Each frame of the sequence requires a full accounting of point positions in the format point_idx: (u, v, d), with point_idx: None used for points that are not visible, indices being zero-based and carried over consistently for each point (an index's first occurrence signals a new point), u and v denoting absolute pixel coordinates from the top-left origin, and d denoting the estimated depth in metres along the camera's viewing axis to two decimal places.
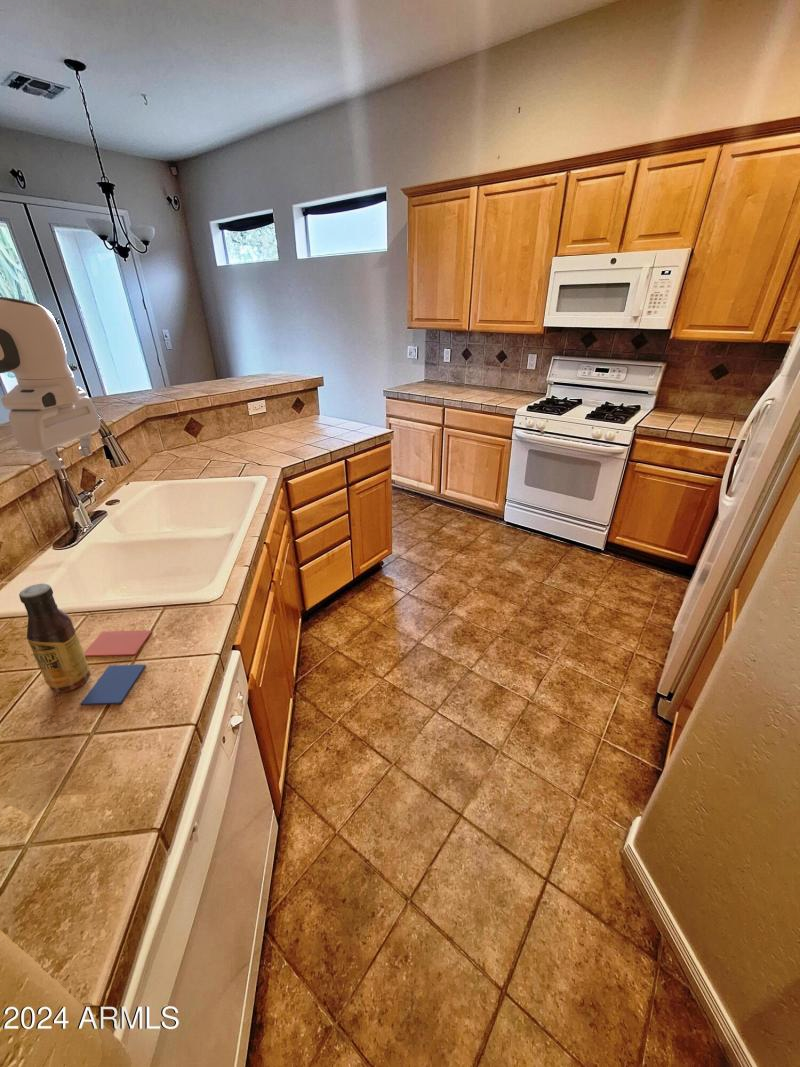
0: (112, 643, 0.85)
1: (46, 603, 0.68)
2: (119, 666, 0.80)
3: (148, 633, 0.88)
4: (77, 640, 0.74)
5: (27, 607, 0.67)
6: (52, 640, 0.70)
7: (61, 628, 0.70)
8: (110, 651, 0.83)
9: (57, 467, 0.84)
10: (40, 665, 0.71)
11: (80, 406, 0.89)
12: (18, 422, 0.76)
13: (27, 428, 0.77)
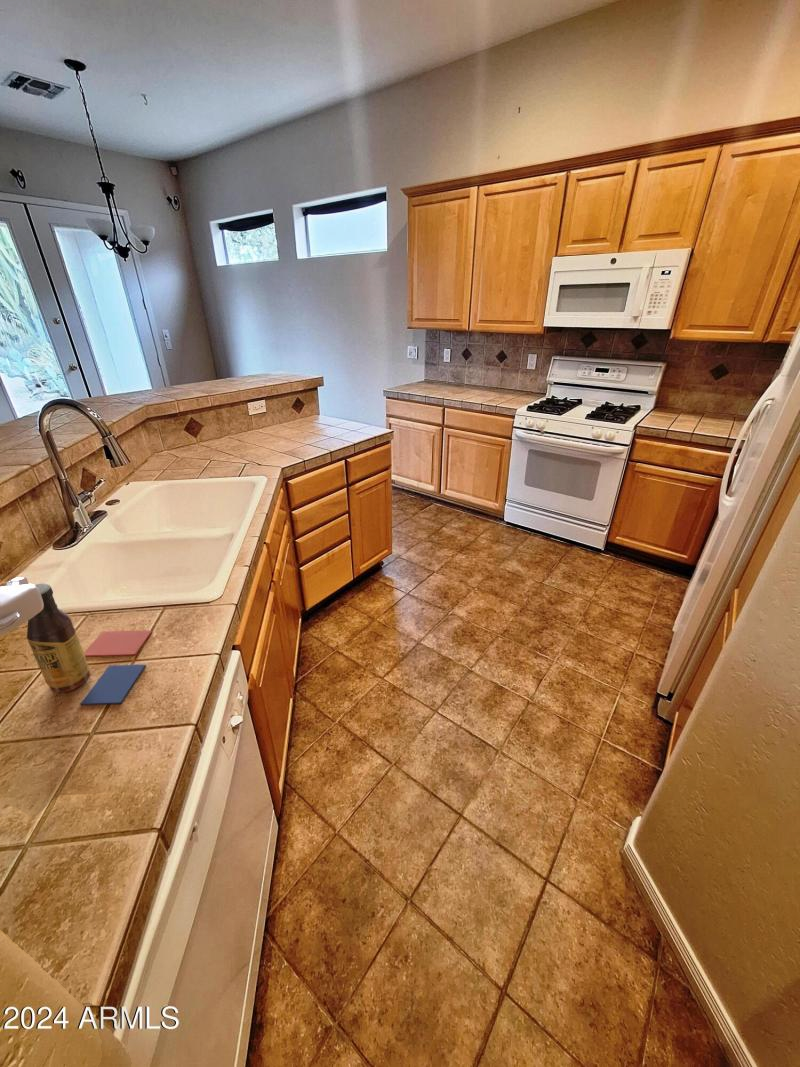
0: (112, 643, 0.85)
1: (46, 603, 0.68)
2: (119, 666, 0.80)
3: (148, 633, 0.88)
4: (77, 640, 0.74)
5: None
6: (52, 640, 0.70)
7: (61, 628, 0.70)
8: (110, 651, 0.83)
9: None
10: (40, 665, 0.71)
11: None
12: None
13: None
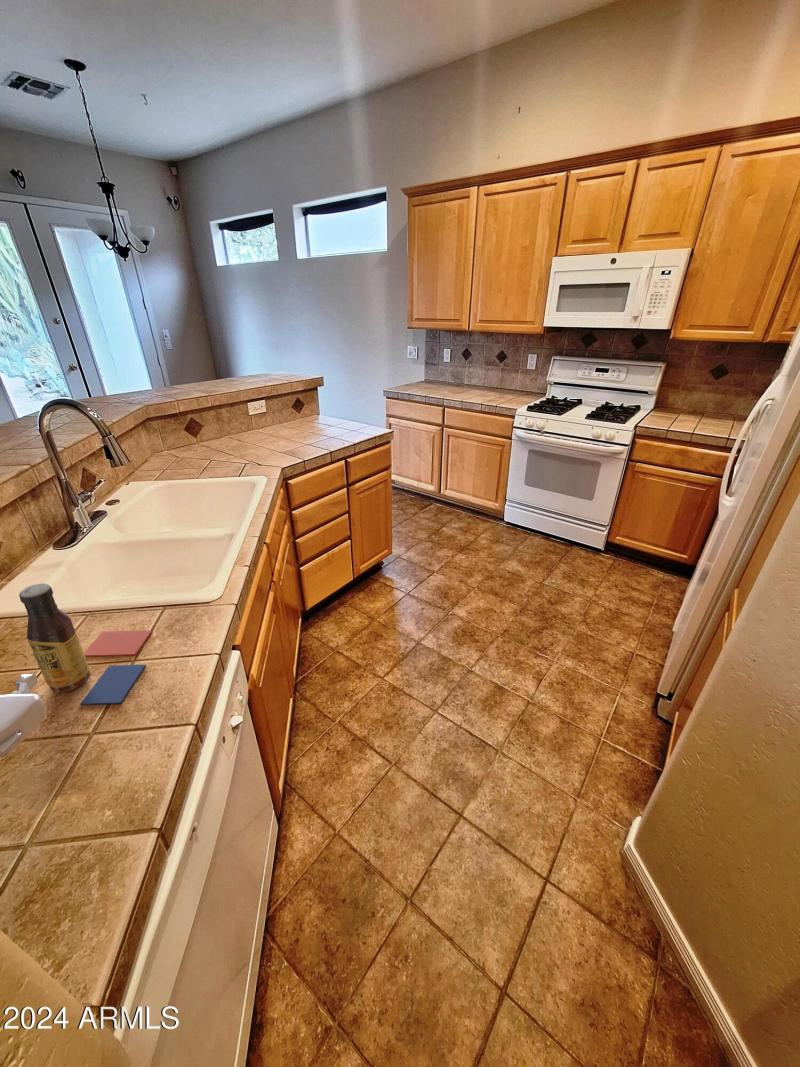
0: (112, 643, 0.85)
1: (46, 603, 0.68)
2: (119, 666, 0.80)
3: (148, 633, 0.88)
4: (77, 640, 0.74)
5: (27, 607, 0.67)
6: (52, 640, 0.70)
7: (61, 628, 0.70)
8: (110, 651, 0.83)
9: None
10: (40, 665, 0.71)
11: None
12: None
13: None
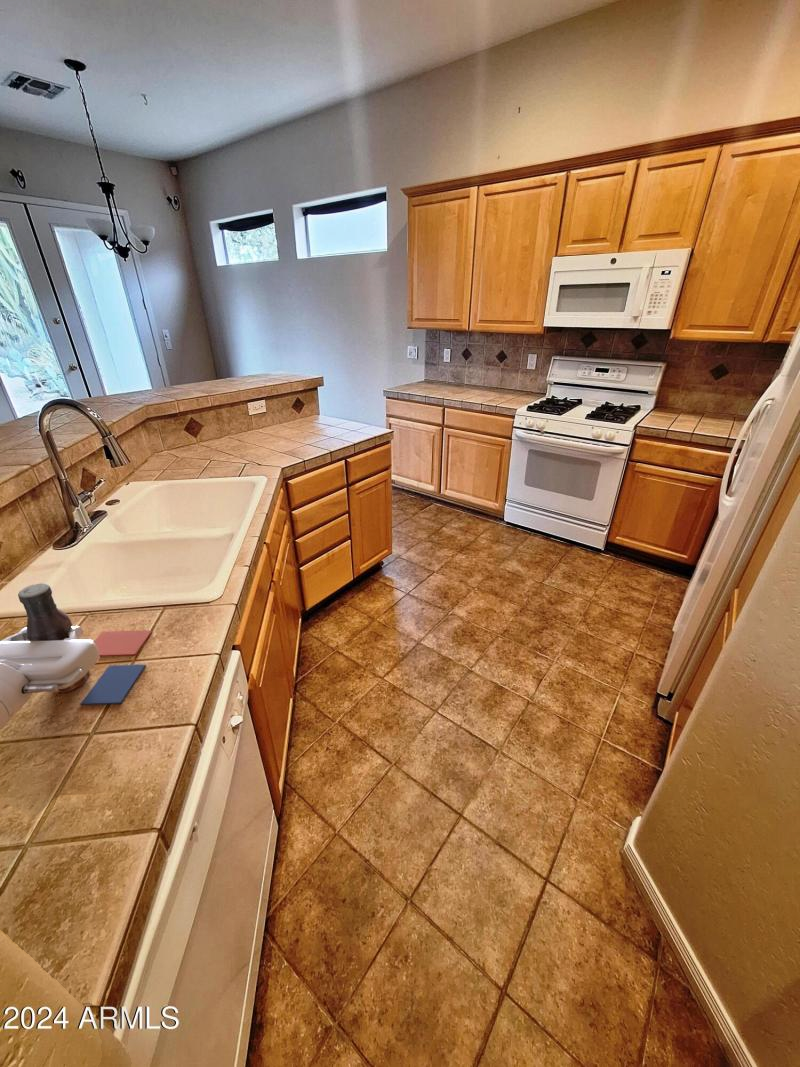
0: (112, 643, 0.85)
1: (45, 603, 0.68)
2: (119, 666, 0.80)
3: (148, 633, 0.88)
4: None
5: (26, 607, 0.67)
6: (51, 640, 0.70)
7: (60, 628, 0.70)
8: (110, 651, 0.83)
9: None
10: None
11: None
12: None
13: None
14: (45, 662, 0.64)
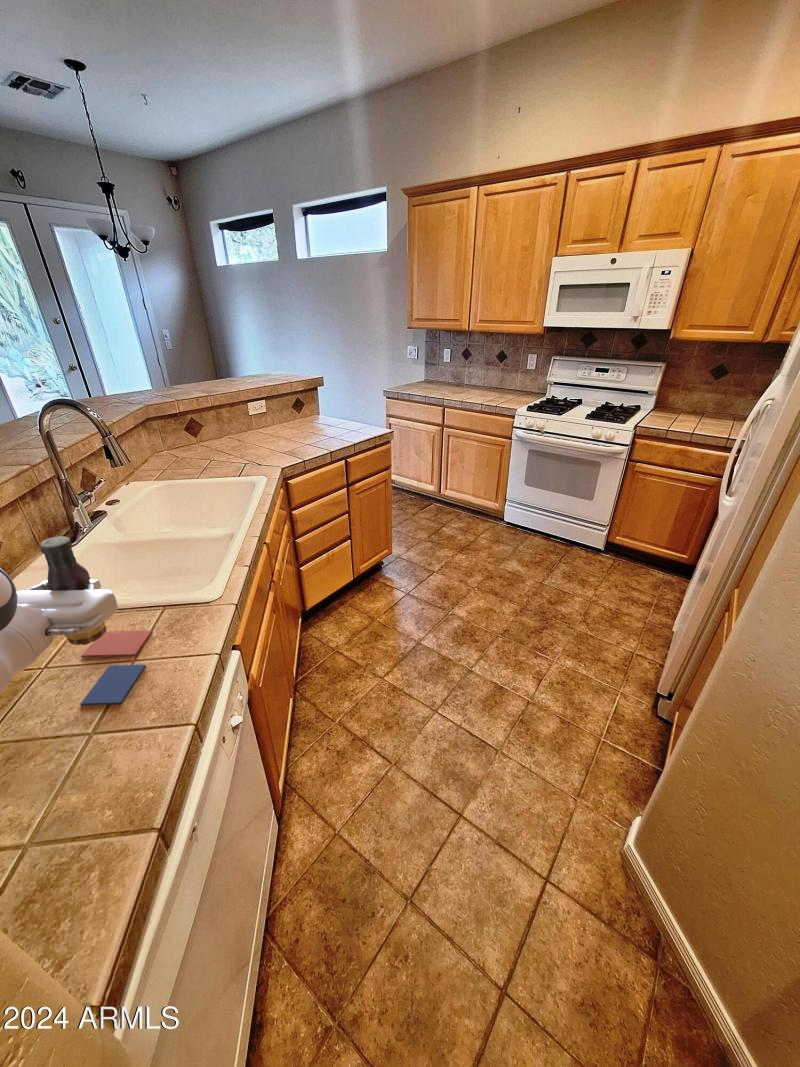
0: (112, 643, 0.85)
1: (66, 555, 0.71)
2: (119, 666, 0.80)
3: (148, 633, 0.88)
4: None
5: (47, 557, 0.70)
6: None
7: (80, 580, 0.73)
8: (110, 651, 0.83)
9: None
10: None
11: None
12: None
13: None
14: (67, 608, 0.66)
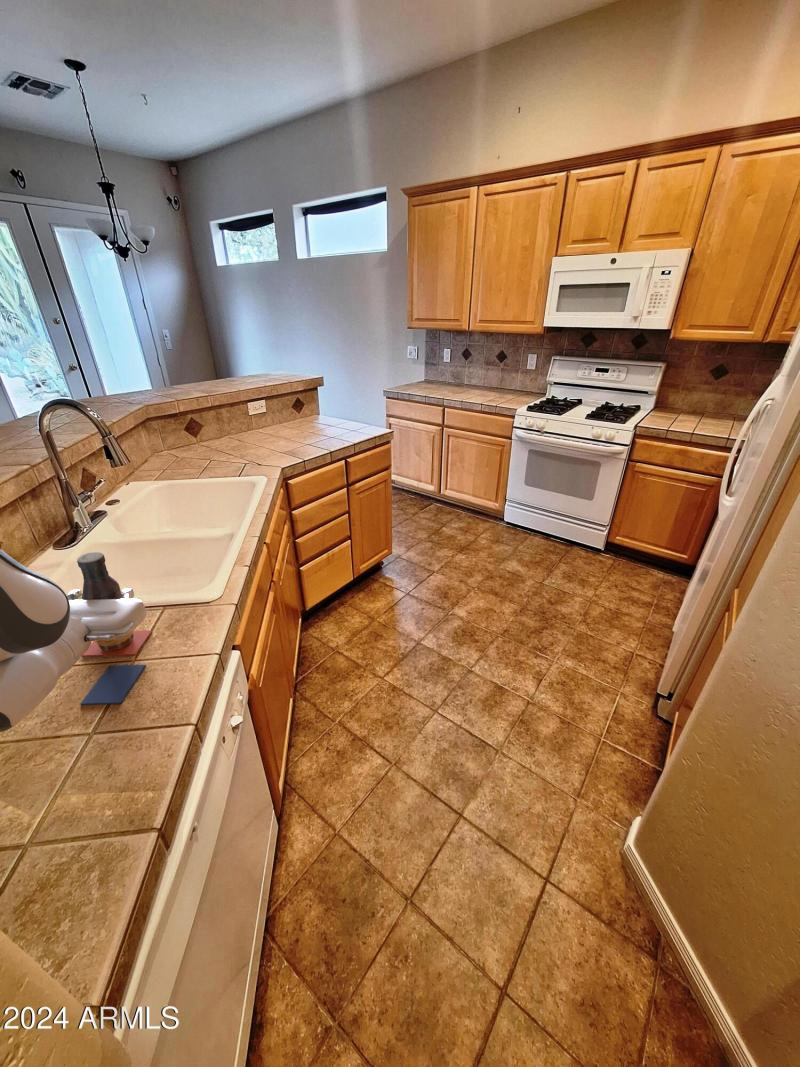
0: None
1: (100, 569, 0.77)
2: (119, 666, 0.80)
3: (148, 633, 0.88)
4: None
5: (84, 572, 0.76)
6: None
7: (112, 592, 0.79)
8: (110, 651, 0.83)
9: None
10: None
11: None
12: None
13: None
14: (102, 616, 0.73)
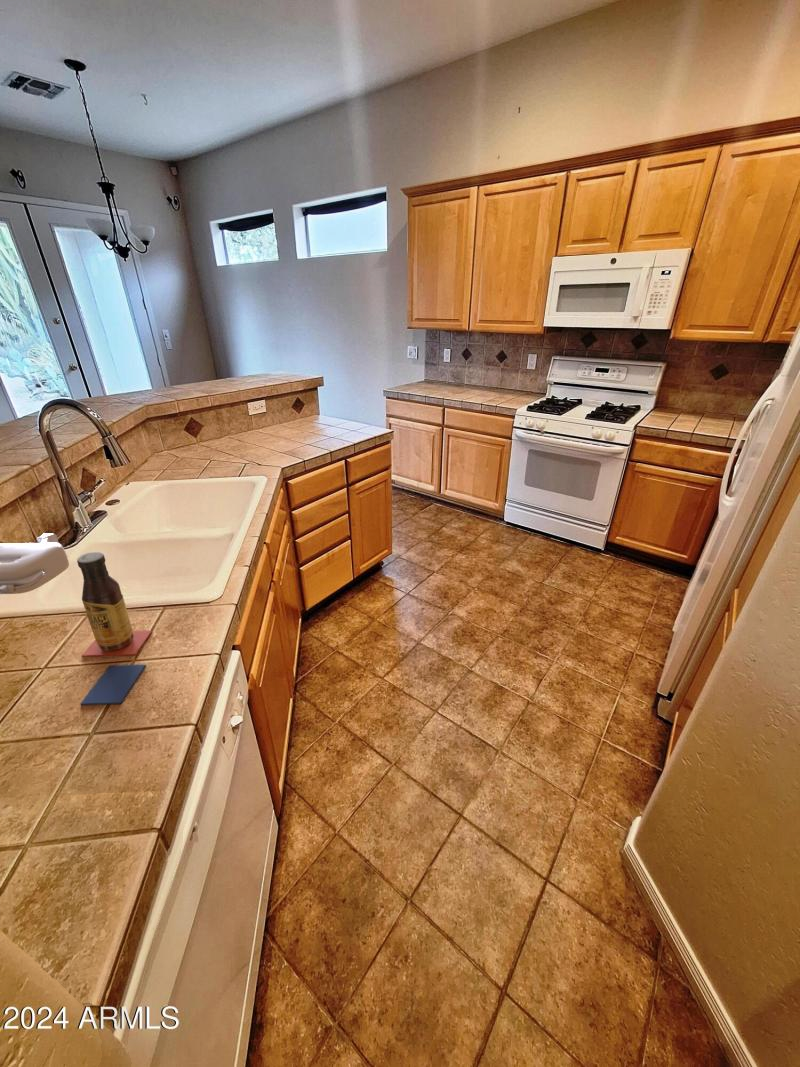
0: None
1: (100, 569, 0.77)
2: (119, 666, 0.80)
3: (148, 633, 0.88)
4: (124, 604, 0.83)
5: (84, 572, 0.76)
6: (104, 602, 0.78)
7: (112, 592, 0.79)
8: (110, 651, 0.83)
9: None
10: (93, 625, 0.80)
11: None
12: None
13: None
14: (0, 562, 0.53)
